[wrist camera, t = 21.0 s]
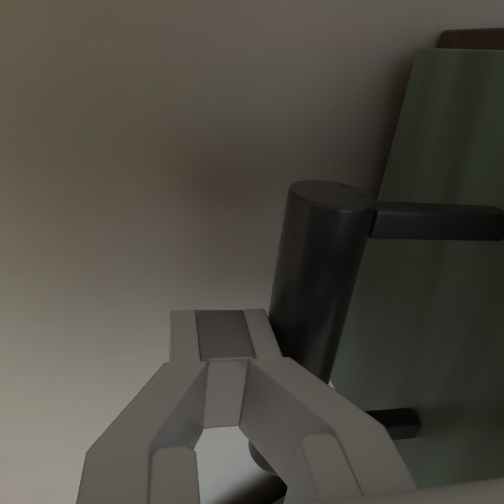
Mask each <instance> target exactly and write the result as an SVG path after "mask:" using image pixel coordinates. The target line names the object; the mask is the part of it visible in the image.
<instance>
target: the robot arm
mask: <svg viewBox="0 0 504 504" xmlns="http://www.w3.org/2000/svg"><path fill="white" fill-rule="evenodd" d="M228 426H239V428H240V430H241V431H242V432H243V433H244V434H245V436H246V437H247V438H248V439H249V440H250V442H251V443H252V444H253V445H254V446H255V448H256V449H257V450H258V451H259V452H260V454H261V455H262V456H263V457H264V458H265V460H266V461H267V462H268V463H269V464H270V466H271V467H272V468H273V469H274V470H275V472H276V473H277V474H278V475H279V476H280V478H281V479H282V480H283V481H284V482H285V484H286V485H287V486H288V488H287V492H286V496H285V500H284V503H283V504H504V477H499V478H492V479H484V480H477V481H470V482H463V483H455V484H448V485H441V486H434V487H427V488H419V487H418V486H417V484H416V482H415V480H414V478H413V477H412V475H411V473H410V471H409V470H408V468H407V466H406V464H405V462H404V461H403V459H402V457H401V455H400V454H399V452H398V450H397V448H396V447H395V445H394V443H393V441H392V439H391V438H390V436H389V434H388V432H387V431H386V429H385V427H384V425H382V424H381V423H379V422H378V421H377V420H375V419H374V418H373V417H371V416H370V415H368V414H367V413H366V412H364V411H363V410H362V409H360V408H359V407H357V406H356V405H355V404H353V403H352V402H351V401H349V400H348V399H346V398H345V397H344V396H342V395H341V394H340V393H338V392H337V391H335V390H334V389H333V388H331V387H330V386H329V385H327V384H326V383H324V382H323V381H322V380H320V379H319V378H318V377H316V376H315V375H313V374H312V373H311V372H309V371H308V370H307V369H305V368H304V367H302V366H301V365H300V364H298V363H297V362H295V361H294V360H293V359H291V358H290V357H283V356H282V353H281V351H280V348H279V345H278V343H277V340H276V337H275V335H274V332H273V329H272V327H271V324H270V322H269V319H268V316H267V314H266V311H265V310H264V309H244V310H195V311H194V310H171V315H170V344H169V363H164V364H163V365H162V366H161V367H160V369H159V370H158V371H157V372H156V373H155V374H154V375H153V377H152V378H151V379H150V380H149V381H148V382H147V383H146V385H145V386H144V387H143V388H142V389H141V390H140V391H139V393H138V394H137V395H136V396H135V397H134V398H133V399H132V401H131V402H130V403H129V404H128V405H127V406H126V407H125V409H124V410H123V411H122V412H121V413H120V414H119V415H118V417H117V418H116V419H115V420H114V421H113V422H112V423H111V425H110V426H109V427H108V428H107V429H106V430H105V431H104V433H103V434H102V435H101V436H100V437H99V438H98V439H97V441H96V442H95V443H94V444H93V445H92V446H91V447H90V449H89V450H88V451H87V452H86V456H85V461H84V466H83V471H82V476H81V481H80V486H79V491H78V497H77V502H76V504H200V494H199V482H198V470H197V459H196V452H195V451H194V450H193V449H194V448H195V446H196V444H197V442H198V440H199V438H200V436H201V434H202V432H203V429H207V428H215V427H228Z"/></svg>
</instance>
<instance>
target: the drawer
mask: <svg viewBox="0 0 504 504" xmlns="http://www.w3.org/2000/svg"><path fill="white" fill-rule="evenodd" d="M268 319H269V322H270V324H271V327H272V329H273V332H274V335H275V337H276V340H277V343H278V345H279V348H280V351H281V353H282V356H283V357H290V358H291V359H293V360H294V361H295V362H297V363H298V364H300V365H301V366H302V367H304V368H305V369H307V370H308V371H309V372H311V373H312V374H313V375H315V376H316V377H318V378H319V379H320V380H322V381H323V382H324V383H326V384H327V385H328V384H329V380H331V382H332V384H333V386H334V388H335V390H336V391H337V392H338V393H340V394H341V395H342V396H344V397H345V398H346V399H348V400H349V401H351V402H352V403H353V404H355V405H356V406H357V407H359V408H360V409H362V410H363V411H364V412H366V413H367V414H368V415H370V416H371V417H373V418H374V419H375V420H377V421H378V422H379V423H381V424H382V425H384V427H385V429H386V431H387V432H388V434H389V436H390V438H391V439H392V441H393V443H394V445H395V447H396V448H397V450H398V452H399V454H400V455H401V457H402V459H403V461H404V462H405V464H406V466H407V468H408V470H409V471H410V473H411V475H412V477H413V478H414V480H415V482H416V484H417V486H418V487H419V488H427V487H434V486H441V485H448V484H455V483H463V482H470V481H477V480H484V479H492V478H499V477H504V50H480V49H438V48H420V49H418V50H417V53H416V56H415V60H414V64H413V68H412V71H411V75H410V79H409V82H408V86H407V90H406V94H405V97H404V101H403V105H402V109H401V112H400V116H399V120H398V124H397V127H396V131H395V135H394V138H393V142H392V146H391V150H390V153H389V157H388V161H387V165H386V168H385V172H384V176H383V180H382V183H381V187H380V191H379V194H378V198H377V201H376V200H375V198H374V197H373V196H372V195H370V194H369V193H367V192H365V191H363V190H361V189H359V188H356V187H353V186H350V185H346V184H342V183H338V182H332V181H324V180H304V181H298V182H295V183H293V184H291V185H290V187H289V188H288V194H287V200H286V206H285V213H284V219H283V225H282V232H281V238H280V244H279V251H278V257H277V264H276V270H275V276H274V283H273V289H272V295H271V302H270V308H269V314H268ZM248 445H249V451H250V454H251V456H252V458H253V460H254V461H255V462H256V464H257V465H258V466H259V467H261V468H262V469H263V470H265V471H266V472H269V473H271V474H274V475H278V474H277V473H276V472H275V470H274V469H273V468H272V467H271V466H270V464H269V463H268V462H267V461H266V460H265V458H264V457H263V456H262V455H261V454H260V452H259V451H258V450H257V449H256V448H255V446H254V445H253V444H252V443H251V442H250V440H249V443H248Z"/></svg>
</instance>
